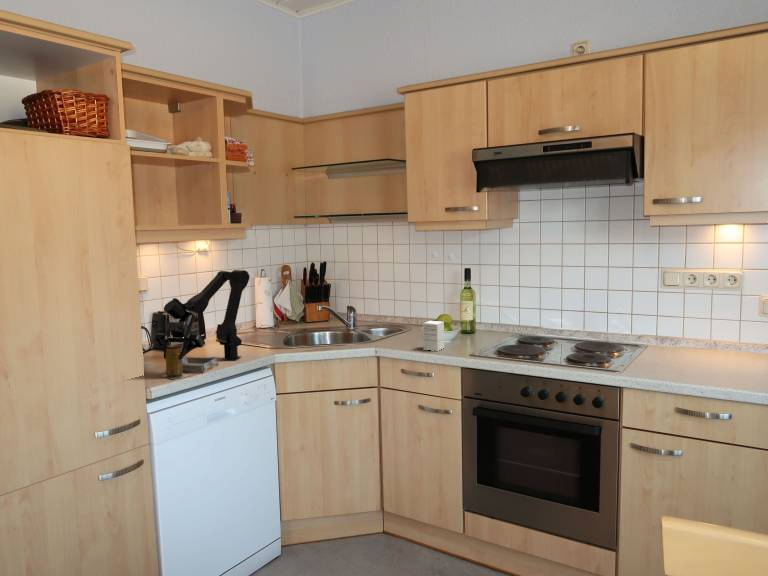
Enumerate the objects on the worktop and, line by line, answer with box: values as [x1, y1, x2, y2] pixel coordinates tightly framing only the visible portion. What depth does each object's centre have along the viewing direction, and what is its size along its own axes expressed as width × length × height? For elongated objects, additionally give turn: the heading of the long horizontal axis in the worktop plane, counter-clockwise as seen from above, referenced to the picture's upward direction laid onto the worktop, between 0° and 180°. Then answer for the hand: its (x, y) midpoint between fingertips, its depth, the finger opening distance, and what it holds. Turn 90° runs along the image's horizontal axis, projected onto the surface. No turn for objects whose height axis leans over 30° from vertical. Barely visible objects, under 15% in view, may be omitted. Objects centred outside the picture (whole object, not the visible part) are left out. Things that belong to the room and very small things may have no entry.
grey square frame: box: [182, 357, 219, 374], centre depth 255 cm, size 14×14×3 cm
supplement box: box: [422, 320, 445, 352], centre depth 281 cm, size 7×7×13 cm
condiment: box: [161, 344, 190, 380], centre depth 243 cm, size 7×8×12 cm
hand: (172, 358), depth 242 cm, fingers closed on condiment, 6 cm apart
